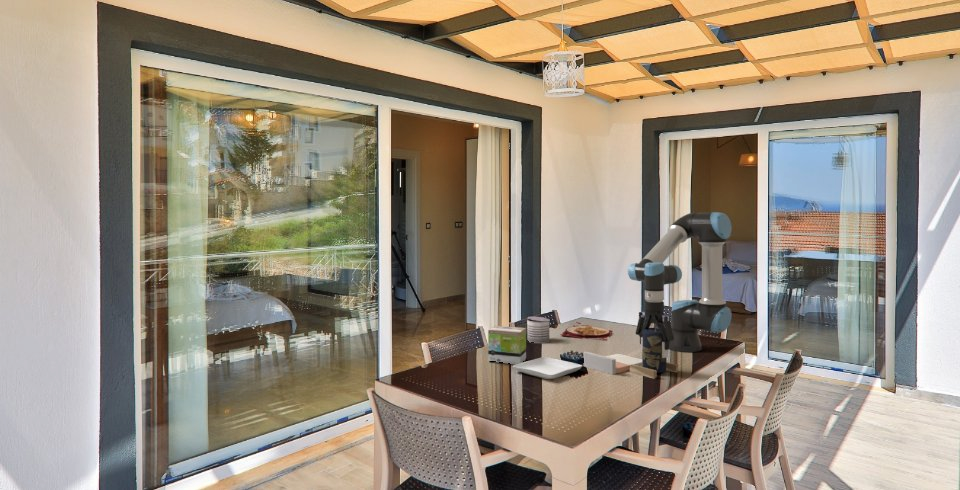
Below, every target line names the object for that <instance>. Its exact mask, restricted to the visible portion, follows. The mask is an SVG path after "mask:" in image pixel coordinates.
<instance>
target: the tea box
mask: <svg viewBox="0 0 960 490" xmlns="http://www.w3.org/2000/svg"><path fill="white" fill-rule="evenodd" d="M487 331H488V332H487V333H488V335H487V353H488V357H487V359H488V362H489V361H496V362H495V363H499V362H503V363H502V364H508V363H510V364H509V365H516V364H520V363H523V361H524V362H526V359H527V327H517V326H505V325H504V326H503V325H493V326H492V327H491V328H490V329H488V330H487Z"/></svg>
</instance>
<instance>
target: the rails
mask: <svg viewBox="0 0 960 490" xmlns="http://www.w3.org/2000/svg"><path fill="white" fill-rule="evenodd" d="M665 371H669V372H673V373H678V372H679V364H677V363H673V362H669V361H667V364H666V370H665ZM629 373H632V374H635V375H638V376H643V377H646V378H650V379H653V380H656V379H657V376H658V375H657V371H656V370H652V369H648V368H645V367H641V366H637V365H633V364H631V365H630V370H629Z"/></svg>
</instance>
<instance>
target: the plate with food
mask: <svg viewBox="0 0 960 490" xmlns="http://www.w3.org/2000/svg"><path fill="white" fill-rule="evenodd" d="M575 324H577V325H573V326H569V327H567V328H566V329H565V331H563V332H562V333H560V334H559V336H564V337H569V338H580V339H581V340H583V339H587V340H588V339H591V340H599V341H600V340H601V341H607V340H608V338H610V337H611V336H612V334H613V330H611V329H607V328H603V327H599V326H592V325H585V324H584V325H583V324H582V323H581V322H578V321H576V322H575ZM581 324H582V325H581Z"/></svg>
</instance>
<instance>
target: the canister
mask: <svg viewBox="0 0 960 490" xmlns="http://www.w3.org/2000/svg"><path fill="white" fill-rule="evenodd" d="M663 341H664V340H663V338H662V334H661V332H660V331H659V328H656V327H653V328H650V327H649V329H644V330H643V339H642V342H643V345H642V353H641V354H642V355H641V359H642V367H645V368H648V369H652V370H656V371H657V373H663V372H666V371H667V370H666V364H667V362H668V361H667V360H668V359H667V358H668V357H666V358H662V342H663Z"/></svg>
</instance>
